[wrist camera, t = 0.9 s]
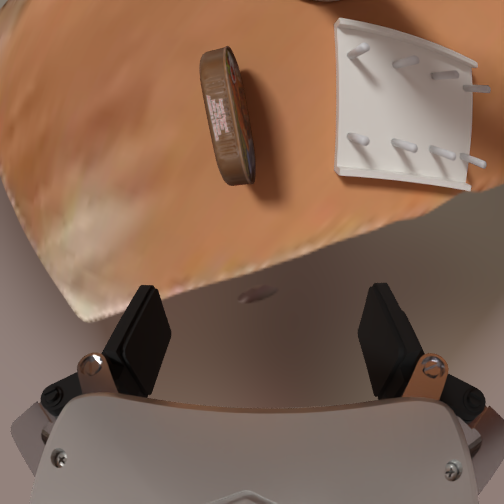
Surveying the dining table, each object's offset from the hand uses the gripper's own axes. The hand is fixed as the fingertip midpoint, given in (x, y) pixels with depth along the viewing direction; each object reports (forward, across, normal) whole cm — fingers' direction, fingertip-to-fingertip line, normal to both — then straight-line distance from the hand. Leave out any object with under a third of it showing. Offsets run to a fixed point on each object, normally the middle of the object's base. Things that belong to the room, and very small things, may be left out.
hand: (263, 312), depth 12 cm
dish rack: (+24, -19, -10) cm, 32 cm away
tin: (+24, +3, -8) cm, 25 cm away
